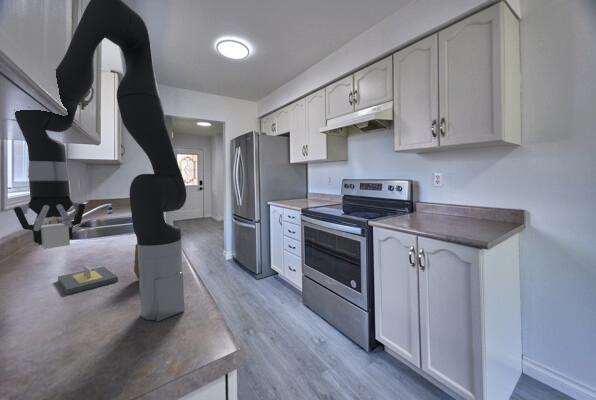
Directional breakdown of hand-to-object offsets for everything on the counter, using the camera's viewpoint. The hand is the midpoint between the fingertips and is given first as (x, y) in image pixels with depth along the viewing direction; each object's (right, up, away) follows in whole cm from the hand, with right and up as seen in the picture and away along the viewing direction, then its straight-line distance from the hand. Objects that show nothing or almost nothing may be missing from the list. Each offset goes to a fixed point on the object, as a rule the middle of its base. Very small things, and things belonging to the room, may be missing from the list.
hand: (54, 242), depth 67 cm
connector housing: (0, -1, 0) cm, 1 cm away
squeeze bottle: (+17, -15, +14) cm, 27 cm away
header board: (-2, -15, +13) cm, 19 cm away
